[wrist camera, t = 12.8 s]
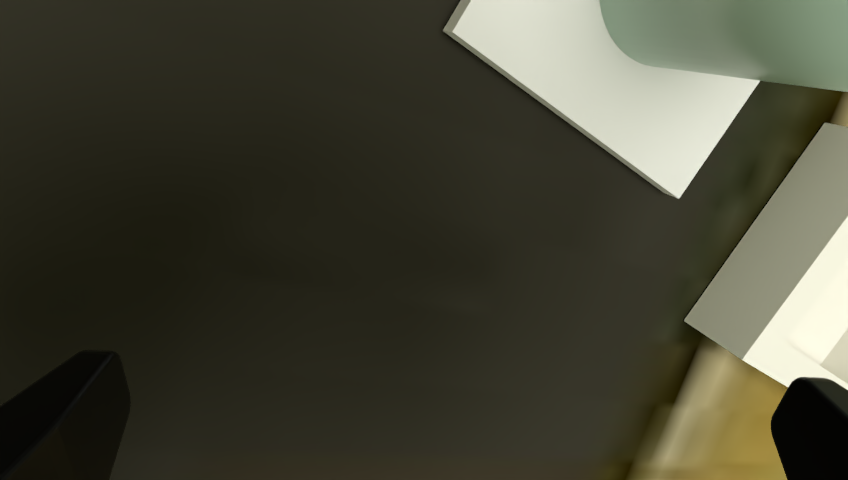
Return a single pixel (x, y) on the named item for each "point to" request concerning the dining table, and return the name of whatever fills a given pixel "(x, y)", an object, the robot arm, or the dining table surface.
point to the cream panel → (604, 84)
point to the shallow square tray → (790, 274)
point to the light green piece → (737, 38)
